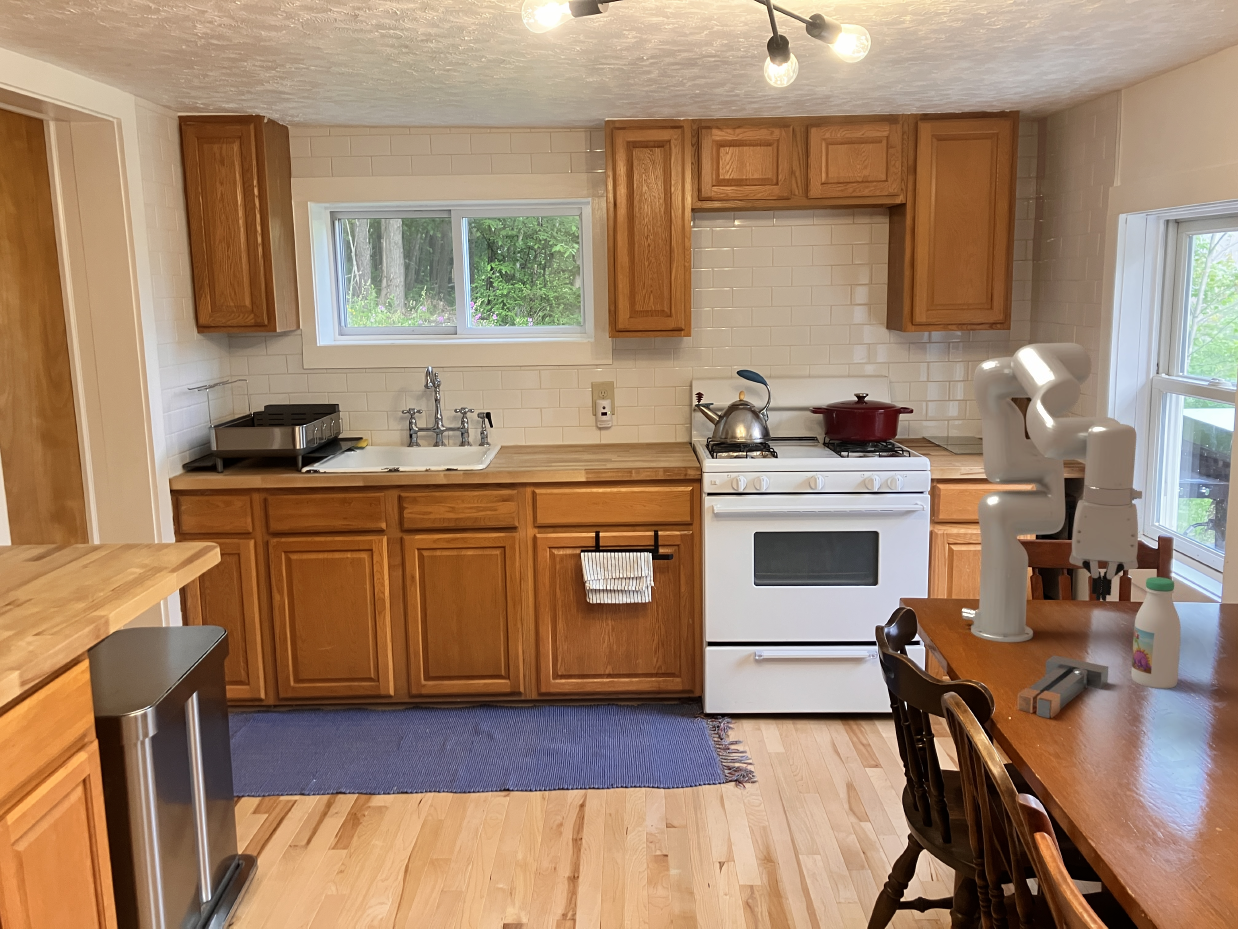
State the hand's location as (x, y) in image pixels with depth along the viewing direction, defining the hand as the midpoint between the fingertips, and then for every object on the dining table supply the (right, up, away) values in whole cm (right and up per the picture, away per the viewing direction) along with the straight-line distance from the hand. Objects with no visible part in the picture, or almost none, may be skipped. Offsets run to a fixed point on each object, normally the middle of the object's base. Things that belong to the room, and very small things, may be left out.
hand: (1100, 598), depth 175 cm
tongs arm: (-4, -19, +6) cm, 20 cm away
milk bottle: (+17, -18, +14) cm, 28 cm away
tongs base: (-4, -19, +9) cm, 21 cm away
